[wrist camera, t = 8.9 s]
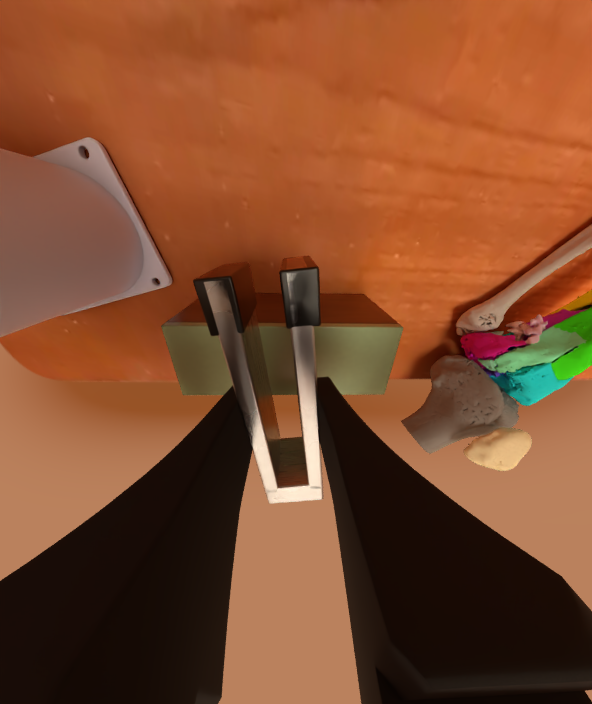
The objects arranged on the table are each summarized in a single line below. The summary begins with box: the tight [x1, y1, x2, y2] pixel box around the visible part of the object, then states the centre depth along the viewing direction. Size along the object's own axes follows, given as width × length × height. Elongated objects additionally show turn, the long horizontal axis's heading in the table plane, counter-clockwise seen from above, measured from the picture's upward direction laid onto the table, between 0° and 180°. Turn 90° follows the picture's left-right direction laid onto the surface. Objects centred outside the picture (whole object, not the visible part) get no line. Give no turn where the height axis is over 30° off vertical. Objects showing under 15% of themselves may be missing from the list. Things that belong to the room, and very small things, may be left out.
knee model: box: [401, 224, 592, 471], centre depth 14 cm, size 9×8×25 cm
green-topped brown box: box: [161, 293, 403, 395], centre depth 14 cm, size 12×4×6 cm, turn 89°
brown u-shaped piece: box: [193, 256, 323, 503], centre depth 9 cm, size 11×3×3 cm, turn 5°
